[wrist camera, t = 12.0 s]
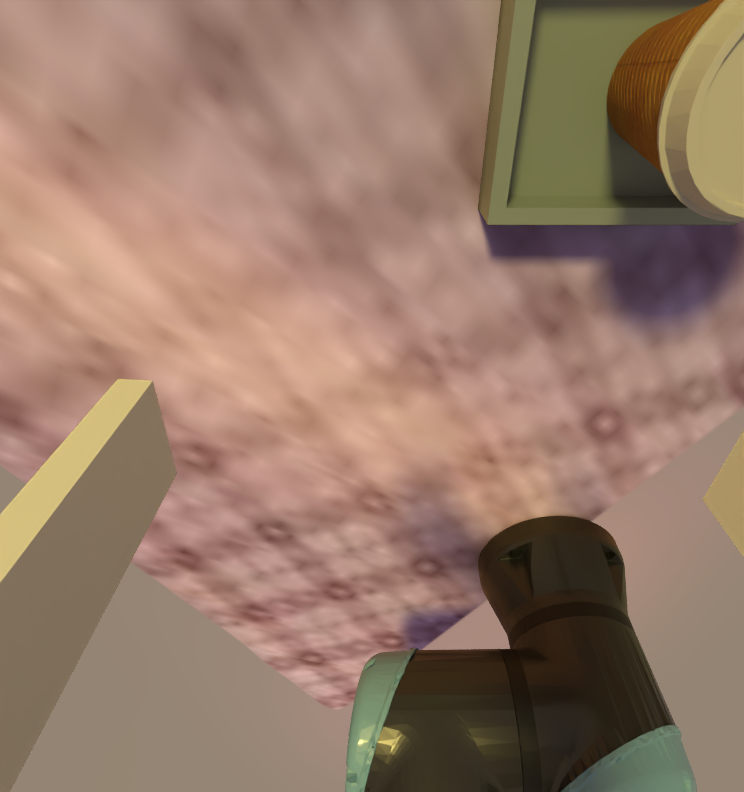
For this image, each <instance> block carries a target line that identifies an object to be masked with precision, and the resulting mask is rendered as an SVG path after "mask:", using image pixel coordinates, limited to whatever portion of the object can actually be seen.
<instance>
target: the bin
mask: <svg viewBox="0 0 744 792" xmlns="http://www.w3.org/2000/svg"><path fill="white" fill-rule="evenodd" d="M708 1H710V0H501V8H500V17H499V26H498V35H497V44H496V53H495V61H494V70H493V79H492V88H491V97H490V106H489V115H488V124H487V133H486V142H485V151H484V160H483V168H482V177H481V186H480V195H479V204H478V209H479V211H480V213H481V214H482V216H483V218H484V220H485V221H486V223H487V225H736V224H737V222H727V221H717V220H714V219H711V218H708V217H704V216H701V215H699V214H698V213H696V212H694V211H692V210H691V209H689V208H688V207H687V206H685V205H684V204H683V203H682V202H681V201H680V200H679V199H678V198H677V197H676V196H675V194H674V193H673V192H672V191H671V189H670V188H669V186H668V184H667V182H666V180H665V177H664V175H663V174H662V173H661V172H660V171H659V170H658V169H657V168H656V167H655V166H653V165H652V164H651V163H650V162H649V161H648V160H647V159H645V158H644V157H643V156H642V155H641V154H640V153H638V152H637V151H636V150H635V149H634V148H633V147H632V146H630V145H629V144H628V143H627V142H626V141H625V140H624V139H622V138H621V137H620V136H619V135H618V134H617V133H616V132H615V130H614V128H613V126H612V124H611V122H610V121H609V116H608V112H607V93H608V87H609V83H610V80H611V77H612V74H613V72H614V70H615V68H616V66H617V64H618V61H619V60H620V58H621V57H622V55H623V54H624V52H625V51H626V49H627V48H628V47H629V46H630V45H631V44H632V43H633V42H634V41H635V40H636V39H637V38H638V37H639V36H640V35H642V34H643V33H644V32H645V31H646V30H648V29H649V28H651V27H653V26H654V25H656V24H658V23H660V22H663V21H665V20H668V19H670V18H672V17H675V16H677V15H680V14H681V13H683V12H686V11H688V10H690V9H692V8H694V7H697V6H700V5H701V4H704V3H707V2H708Z"/></svg>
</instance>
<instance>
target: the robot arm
mask: <svg viewBox="0 0 744 792" xmlns="http://www.w3.org/2000/svg"><path fill="white" fill-rule="evenodd" d="M176 474H177V472H176V468H175V464H174V460H173V456H172V452H171V449H170V445H169V441H168V437H167V433H166V429H165V426H164V422H163V418H162V414H161V410H160V406H159V403H158V399H157V395H156V391H155V387H154V383H153V381H148V380H127V379H118V380H117V381H116V382H115V383H114V384H113V385H112V386H111V388H110V389H109V390H108V391H107V392H106V393H105V395H104V396H103V397H102V398H101V399H100V400H99V401H98V403H97V404H96V405H95V406H94V407H93V408H92V409H91V411H90V412H89V413H88V414H87V415H86V416H85V418H84V419H83V420H82V421H81V422H80V423H79V424H78V426H77V427H76V428H75V429H74V430H73V431H72V432H71V434H70V435H69V436H68V437H67V438H66V439H65V441H64V442H63V443H62V444H61V445H60V446H59V447H58V449H57V450H56V451H55V452H54V453H53V454H52V455H51V457H50V458H49V459H48V460H47V461H46V462H45V464H44V465H43V466H42V467H41V468H40V469H39V470H38V472H37V473H36V474H35V475H34V476H33V477H32V478H31V480H30V481H29V482H28V483H27V484H26V485H25V487H24V488H23V489H22V490H21V491H20V492H19V493H18V495H17V496H16V497H15V498H14V499H13V500H12V502H11V503H10V504H9V505H8V506H7V507H6V508H5V510H4V511H3V512H2V513H1V514H0V792H10V790H11V788H12V786H13V784H14V783H15V781H16V779H17V777H18V775H19V773H20V771H21V769H22V767H23V766H24V764H25V762H26V760H27V758H28V756H29V754H30V752H31V750H32V748H33V746H34V745H35V743H36V741H37V739H38V737H39V735H40V733H41V731H42V729H43V727H44V726H45V724H46V722H47V720H48V718H49V716H50V714H51V712H52V710H53V708H54V706H55V705H56V703H57V701H58V699H59V697H60V695H61V693H62V691H63V689H64V687H65V685H66V684H67V682H68V680H69V678H70V676H71V674H72V672H73V670H74V668H75V667H76V665H77V663H78V661H79V659H80V657H81V655H82V653H83V651H84V649H85V647H86V645H87V644H88V642H89V640H90V638H91V636H92V634H93V632H94V630H95V628H96V627H97V625H98V623H99V621H100V619H101V617H102V615H103V613H104V611H105V609H106V607H107V606H108V604H109V602H110V600H111V598H112V596H113V594H114V592H115V590H116V588H117V587H118V585H119V583H120V580H121V579H122V577H123V575H124V573H125V571H126V569H127V567H128V565H129V564H130V562H131V560H132V558H133V556H134V554H135V552H136V550H137V548H138V547H139V545H140V543H141V541H142V539H143V537H144V535H145V533H146V531H147V529H148V528H149V526H150V524H151V522H152V520H153V518H154V516H155V514H156V512H157V510H158V508H159V507H160V505H161V503H162V501H163V499H164V497H165V495H166V493H167V491H168V489H169V488H170V486H171V484H172V482H173V480H174V478H175V476H176ZM703 501H704V502H705V503H706V505H707V506H708V508H709V509H710V510H711V512H712V513H713V515H714V516H715V517H716V519H717V520H718V522H719V523H720V524H721V526H722V527H723V529H724V530H725V531H726V533H727V534H728V536H729V537H730V538H731V540H732V541H733V543H734V544H735V546H736V547H737V548H738V550H739V551H740V553H741V554H742V555H743V557H744V431H743V433H742V434H741V436H740V438H739V439H738V441H737V443H736V444H735V446H734V448H733V449H732V451H731V453H730V454H729V456H728V458H727V460H726V461H725V463H724V465H723V466H722V468H721V469H720V471H719V473H718V474H717V476H716V478H715V479H714V481H713V483H712V485H711V486H710V488H709V490H708V491H707V493H706V495H705V496H704V498H703ZM478 569H479V575H480V581H481V586H482V589H483V591H484V594H485V596H486V597H487V599H488V601H489V603H490V605H491V606H492V608H493V610H494V612H495V614H496V615H497V617H498V619H499V621H500V622H501V624H502V626H503V628H504V630H505V632H506V633H507V636H508V639H509V645H510V649H474V650H418V648H411V649H410V650H408V651H394V652H382V653H378V654H376V655H374V656H373V657H371V658H370V659H369V660H368V662H367V663H366V665H365V666H364V668H363V671H362V673H361V676H360V679H359V683H358V686H357V691H356V695H355V700H354V705H353V711H352V717H351V724H350V731H349V739H348V750H347V761H346V764H347V767H348V768H347V773H346V784H345V792H697V786H696V781H695V777H694V774H693V772H692V769H691V766H690V763H689V761H688V758H687V755H686V752H685V750H684V747H683V744H682V742H681V732H680V731H679V729H678V727H677V726H676V725H675V723H674V721H673V719H672V716H671V714H670V712H669V709H668V707H667V705H666V702H665V700H664V698H663V696H662V693H661V691H660V689H659V686H658V684H657V682H656V679H655V678H654V675H653V673H652V670H651V668H650V666H649V663H648V661H647V659H646V657H645V654H644V652H643V650H642V647H641V645H640V643H639V640H638V638H637V636H636V634H635V632H634V629H633V627H632V624H631V622H630V620H629V617H628V612H627V597H626V582H625V567H624V562H623V558H622V556H621V553H620V551H619V549H618V547H617V545H616V542H615V540H614V539H613V537H612V536H611V535H610V534H609V533H608V532H607V531H606V530H605V529H604V528H602V527H601V526H599V525H597V524H595V523H593V522H590V521H587V520H584V519H580V518H575V517H566V516H552V517H542V518H536V519H532V520H528V521H524V522H521V523H518V524H516V525H514V526H511V527H509V528H507V529H505V530H504V531H502V532H500V533H499V534H498V535H496V536H495V537H494V538H493V539H491V540H490V541H489V542H488V544H487V545H486V546H485V547H484V549H483V550H482V552H481V554H480V557H479V562H478Z"/></svg>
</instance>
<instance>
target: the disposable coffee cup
mask: <svg viewBox="0 0 744 792" xmlns="http://www.w3.org/2000/svg"><path fill="white" fill-rule="evenodd" d="M607 112H608V116H609V121H610V122H611V124H612V126H613V128H614V130H615V132H616V133H617V134H618V135H619V136H620V137H621V138H622V139H624V140H625V141H626V142H627V143H628V144H629V145H630V146H632V147H633V148H634V149H635V150H636V151H637V152H638V153H640V154H641V155H642V156H643V157H644V158H645V159H647V160H648V161H649V162H650V163H651V164H652V165H653V166H655V167H656V168H657V169H658V170H659V171H660V172H661V173H662V174H663V175H664V177H665V180H666V182H667V184H668V186H669V188H670V189H671V191H672V192H673V193H674V194H675V196H676V197H677V198H678V199H679V200H680V201H681V202H682V203H683V204H684V205H685V206H687V207H688V208H689V209H691V210H692V211H694V212H696V213H698V214H699V215H701V216H704V217H708V218H711V219H714V220H717V221H727V222H744V0H710V1H708V2H707V3H704V4H701V5H700V6H697V7H694V8H692V9H690V10H688V11H686V12H683V13H681V14H680V15H677V16H675V17H672V18H670V19H668V20H665V21H663V22H660V23H658V24H656V25H654V26H653V27H651V28H649V29H648V30H646V31H645V32H644V33H643V34H642V35H640V36H639V37H638V38H637V39H636V40H635V41H634V42H633V43H632V44H631V45H630V46H629V47H628V48H627V49H626V51H625V52H624V54H623V55H622V57H621V58H620V60H619V61H618V64H617V66H616V68H615V70H614V72H613V74H612V77H611V80H610V83H609V87H608V93H607Z"/></svg>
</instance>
